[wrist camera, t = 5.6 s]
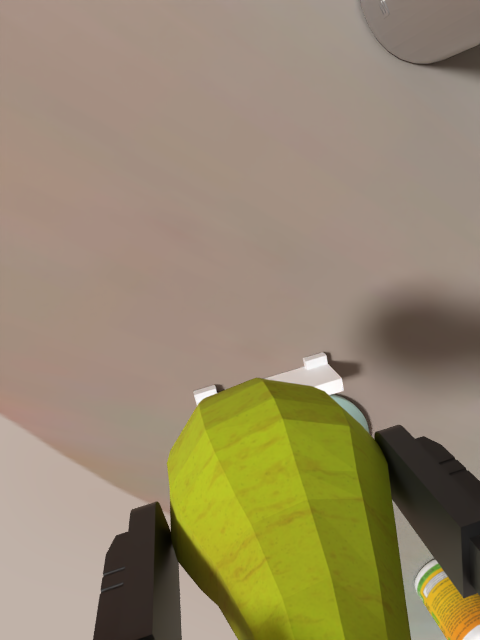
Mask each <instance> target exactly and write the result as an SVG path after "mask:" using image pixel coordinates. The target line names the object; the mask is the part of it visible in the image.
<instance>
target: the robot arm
mask: <svg viewBox="0 0 480 640" xmlns="http://www.w3.org/2000/svg"><path fill="white" fill-rule="evenodd" d="M360 3H361V8H362V10H363V13H364V16H365V18H366V21H367V24H368V26H369V27H370V29H371V31H372V32H373V34H374V35H375V37H376V39H377V40H378V41H379V42H380V43H381V44H382V45H383V46H384V47H385V48H386V49H387V50H388V51H389V52H390V53H392V54H394V55H395V56H397V57H398V58H400V59H402V60H406V61H409V62H412V63H422V64H429V63H434V62H438V61H442V60H445V59H447V58H449V57H451V56H454V55H456V54H458V53H461V52H463V51H465V50H468V49H470V48H472V47H474V46H477V45H479V44H480V0H360ZM375 441H376V442H377V443H378V445H379V447H380V448H381V450H382V452H383V454H384V457H385V459H386V461H387V464H388V472H389V480H390V488H391V496H392V500H393V501H394V502H395V504H396V505H397V506H398V508H399V509H400V511H401V512H402V513H403V515H404V516H405V518H406V519H407V520H408V522H409V523H410V525H411V526H412V527H413V529H414V530H415V532H416V533H417V534H418V536H419V537H420V538H421V540H422V541H423V543H424V544H425V545H426V547H427V548H428V550H429V551H430V552H431V554H432V555H433V557H434V558H435V559H436V561H437V562H438V564H439V565H440V566H441V568H442V569H443V571H444V572H445V573H446V575H447V576H448V577H449V579H450V580H451V582H452V583H453V584H454V586H455V587H456V589H457V590H458V591H459V593H460V594H461V596H462V597H463V598H466V597H469V596H471V595H474V594H477V593H478V594H479V596H480V481H479V480H478V479H477V478H476V477H475V476H474V475H473V474H472V473H470V472H469V471H467V470H466V468H465V467H464V466H463V465H462V464H461V463H460V462H459V461H458V460H455V457H454V456H453V455H452V454H450V453H449V452H448V451H447V450H446V449H445V448H444V447H443V446H442V445H441V444H439V443H437V442H434V441H432V440H430V439H428V438H426V437H424V436H423V437H420V438H416V439H414V438H413V437H412V436H411V434H410V433H409V432H408V431H407V430H406V429H405V428H404V427H403V426H401V425H396V426H393V427H390V428H387V429H384V430H381V431H377V432H375ZM178 565H179V564H178V561H177V558H176V555H175V552H174V548H173V545H172V541H171V531H170V529H169V526H168V524H167V521H166V519H165V516H164V514H163V511H162V509H161V506H160V504H159V503H158V502H154V503H151V504H148V505H145V506H142V507H138V508H135V509H132V510H131V513H130V521H129V531H128V532H125V533H122V534H119V535H116V537H115V539H114V540H113V542H112V544H111V546H110V548H109V550H108V552H107V554H106V558H105V565H104V571H103V575H104V577H103V578H102V585H101V594H100V598H99V604H98V611H97V617H96V624H95V631H94V638H93V640H182V636H181V614H180V613H181V612H180V589H179V566H178Z"/></svg>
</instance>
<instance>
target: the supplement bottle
mask: <svg viewBox="0 0 480 640" xmlns="http://www.w3.org/2000/svg"><path fill="white" fill-rule="evenodd" d="M415 589H416V591H417V593H418V595H419V597H420V598H421V600H422V601H423V603H424V604H425V606H426V608H427V609H428V611H429V612H430V614H431V615H432V617H433V618H434V620H435V621H436V623H437V624H438V626H439V627H440V629H441V631H442V632H443V634H444V635H445V637H446V638H447V640H480V596H479V594H478V593H477V594H474V595H471V596H469V597H466V598H463V597H462V596H461V594H460V593H459V591H458V590H457V589H456V587H455V586H454V584H453V583H452V582H451V580H450V579H449V577H448V576H447V575H446V573H445V572H444V571H443V569H442V568H441V566H440V565H439V564H438V562H437V561H436V559H434V560H432V561H430V562H429V563H427V564H426V565H425V566H424V567H423V568H422V569H421V570H420V572H419V573H418V575H417V577H416V580H415Z"/></svg>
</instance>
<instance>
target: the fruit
mask: <svg viewBox="0 0 480 640" xmlns="http://www.w3.org/2000/svg"><path fill="white" fill-rule="evenodd" d="M167 467H168V476H169V485H170V515H171V541H172V545H173V548H174V552H175V555H176V558H177V561H178V562H179V563H180V564H181V566H182V567H183V568H184V569H185V571H186V572H187V573H188V574H189V576H190V577H191V578H192V579H193V581H194V582H195V583H196V584H197V585H198V587H199V588H200V589H201V590H202V591H203V592H204V593H205V594H206V595H207V596H208V597H209V598H210V599H211V600H212V601H214V602H215V603H216V604H217V605H218V606H219V608H220V609H221V611H222V613H223V615H224V616H225V618H226V620H227V621H228V623H229V625H230V627H231V628H232V630H233V632H234V633H235V635H236V636H237V638H238V640H411V636H410V629H409V622H408V614H407V607H406V600H405V593H404V585H403V578H402V570H401V563H400V555H399V547H398V540H397V532H396V525H395V518H394V511H393V504H392V496H391V488H390V480H389V472H388V464H387V461H386V459H385V457H384V454H383V452H382V450H381V448H380V447H379V445H378V443H377V442H376V441H375V440H374V439H373V437H372V436H371V435H370V434H369V433H368V432H367V431H366V429H365V428H364V427H363V426H362V425H361V424H360V423H359V422H358V421H357V420H355V419H354V418H353V417H352V416H351V415H350V414H349V413H348V412H347V411H346V410H345V409H343V408H342V407H341V406H340V405H339V404H338V403H337V402H336V401H335V400H334V399H333V398H332V397H330V396H329V395H328V394H327V393H326V392H325V391H323V390H320V389H318V388H315V387H313V386H308V385H301V384H294V383H288V382H281V381H275V380H268V379H261V378H254V379H251V380H249V381H246V382H244V383H241V384H239V385H236V386H234V387H231V388H229V389H226V390H224V391H221V392H219V393H216V394H214V395H211V396H209V397H206V398H204V399H203V400H202V401H200V402H199V404H198V405H197V407H196V409H195V410H194V412H193V414H192V415H191V417H190V419H189V420H188V422H187V424H186V425H185V427H184V429H183V430H182V432H181V434H180V436H179V437H178V439H177V441H176V442H175V444H174V446H173V447H172V449H171V451H170V454H169V458H168V462H167Z"/></svg>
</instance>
